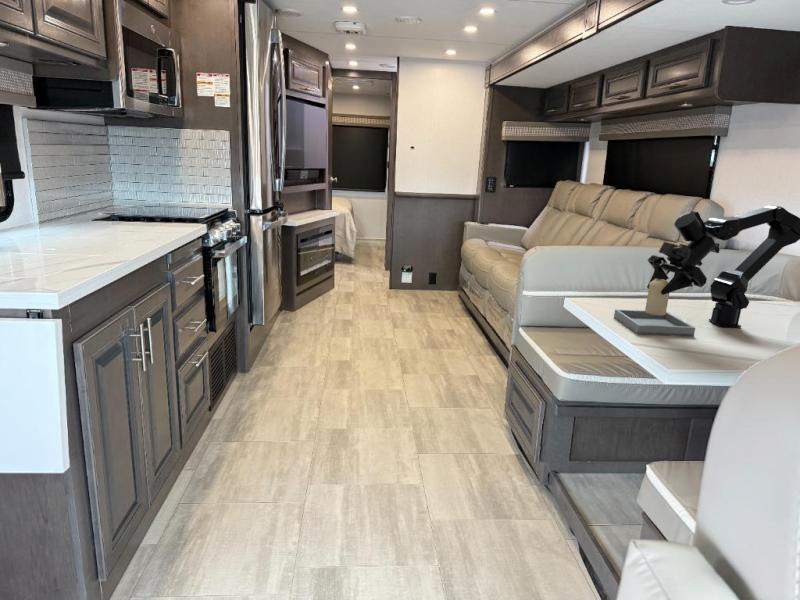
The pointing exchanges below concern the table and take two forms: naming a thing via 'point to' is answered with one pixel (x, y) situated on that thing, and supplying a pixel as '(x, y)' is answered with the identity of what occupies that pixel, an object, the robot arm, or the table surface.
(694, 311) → the table surface
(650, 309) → the candle
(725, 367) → the table surface
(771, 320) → the table surface
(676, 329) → the tray
